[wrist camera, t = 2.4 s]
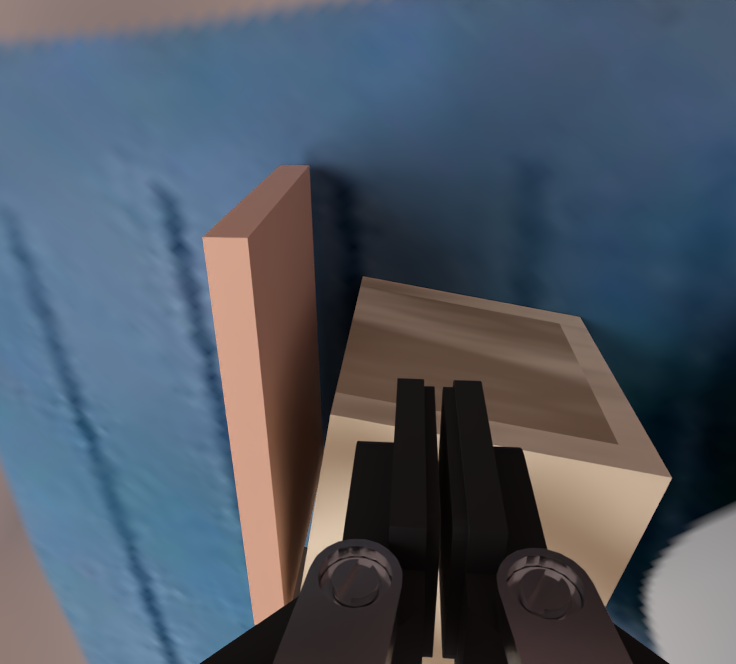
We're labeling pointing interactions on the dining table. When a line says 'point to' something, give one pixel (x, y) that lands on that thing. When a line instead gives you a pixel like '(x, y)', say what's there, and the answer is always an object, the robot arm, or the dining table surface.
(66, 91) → the dining table surface
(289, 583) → the door
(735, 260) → the dining table surface
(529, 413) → the wooden cabinet
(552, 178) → the dining table surface
